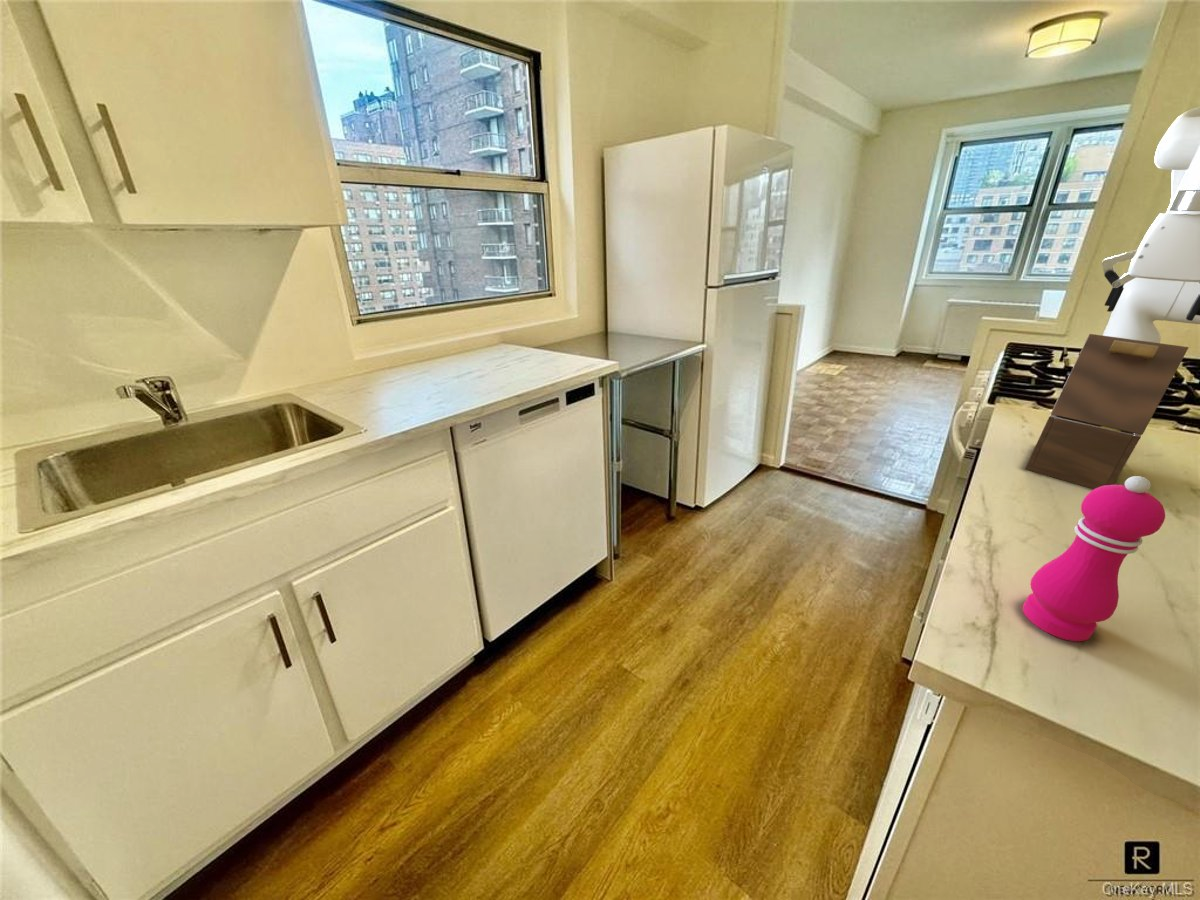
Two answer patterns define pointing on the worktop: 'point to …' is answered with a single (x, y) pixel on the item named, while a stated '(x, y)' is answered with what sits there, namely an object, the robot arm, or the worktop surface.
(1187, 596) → the worktop surface
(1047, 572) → the pepper mill
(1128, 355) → the lid
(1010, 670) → the worktop surface
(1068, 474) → the chest
